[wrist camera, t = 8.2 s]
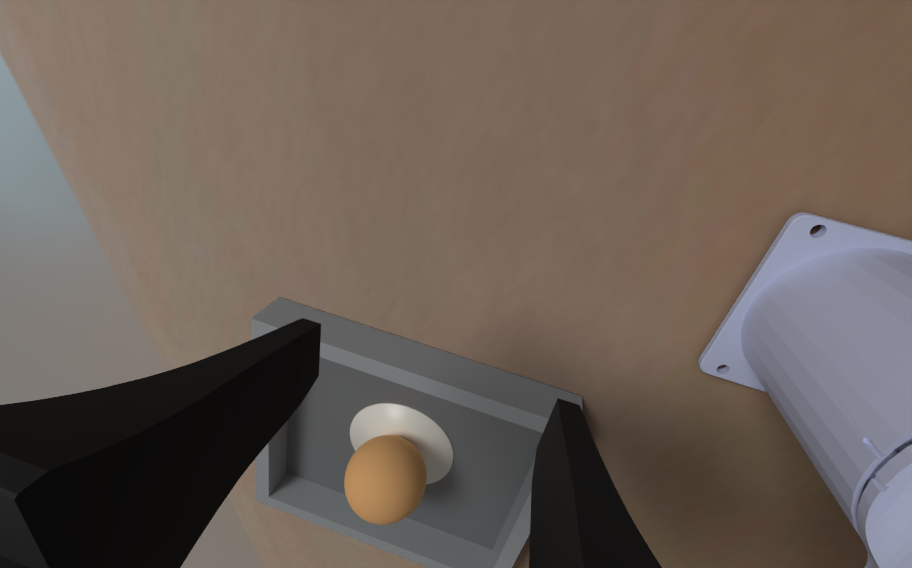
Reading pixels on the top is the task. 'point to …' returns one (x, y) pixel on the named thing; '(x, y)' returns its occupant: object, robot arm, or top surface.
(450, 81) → the top surface
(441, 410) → the grey serving tray
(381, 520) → the ball
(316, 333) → the robot arm
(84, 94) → the top surface
